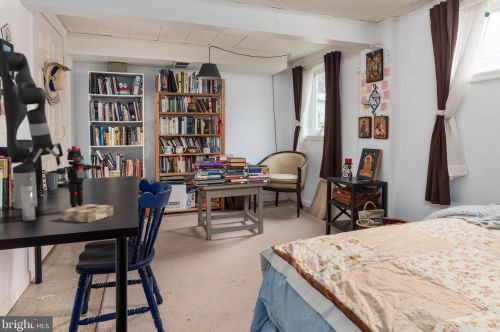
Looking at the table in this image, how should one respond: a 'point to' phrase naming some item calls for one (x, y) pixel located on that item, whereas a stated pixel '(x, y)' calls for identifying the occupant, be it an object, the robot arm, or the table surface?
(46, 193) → the table surface
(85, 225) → the table surface
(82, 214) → the socket
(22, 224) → the table surface
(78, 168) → the toy
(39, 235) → the table surface
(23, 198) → the pin
